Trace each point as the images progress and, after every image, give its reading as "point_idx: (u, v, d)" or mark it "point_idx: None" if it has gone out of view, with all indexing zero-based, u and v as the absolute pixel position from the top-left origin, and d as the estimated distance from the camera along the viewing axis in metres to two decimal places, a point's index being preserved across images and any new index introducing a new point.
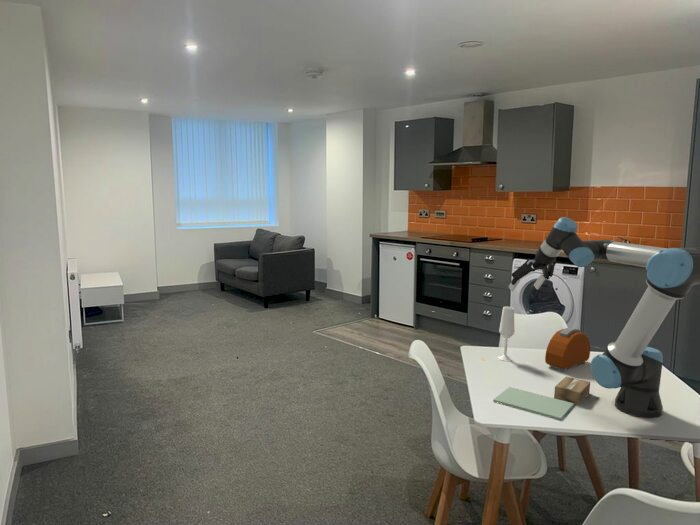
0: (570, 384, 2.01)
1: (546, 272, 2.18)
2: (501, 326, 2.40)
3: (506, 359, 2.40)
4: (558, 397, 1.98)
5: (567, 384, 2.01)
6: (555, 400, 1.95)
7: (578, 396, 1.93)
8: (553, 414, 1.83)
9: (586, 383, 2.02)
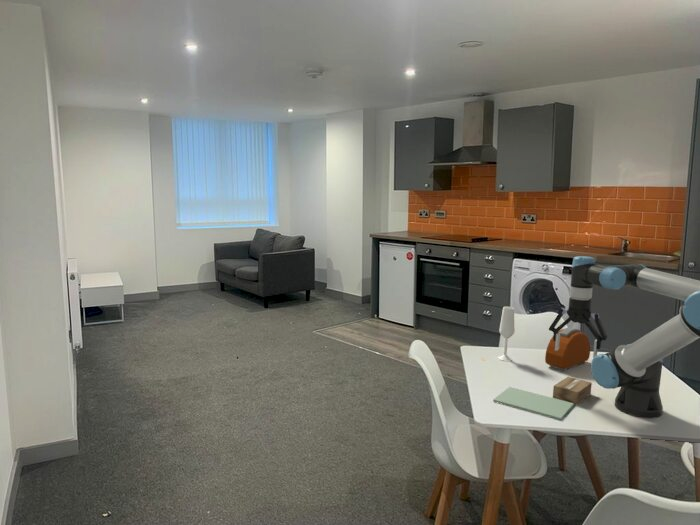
0: (570, 383, 2.01)
1: (592, 330, 1.94)
2: (501, 326, 2.40)
3: (506, 359, 2.40)
4: (557, 396, 1.99)
5: (567, 384, 2.01)
6: (555, 400, 1.95)
7: (576, 396, 1.94)
8: (553, 414, 1.83)
9: (587, 383, 2.02)
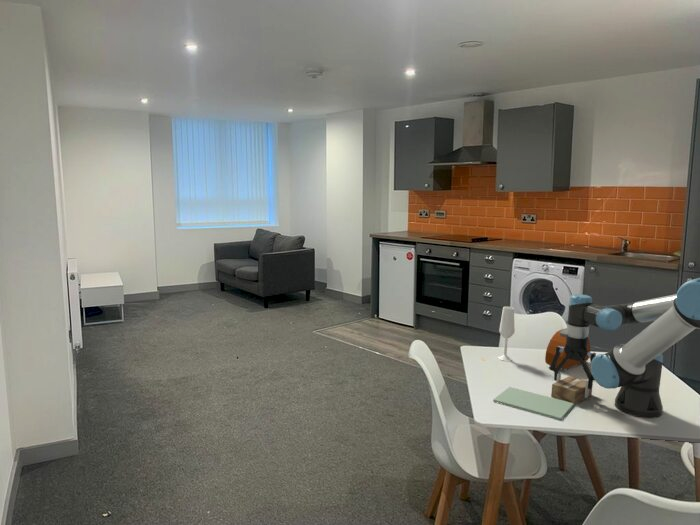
0: (570, 383, 2.01)
1: (585, 369, 1.97)
2: (501, 326, 2.40)
3: (506, 359, 2.40)
4: (555, 395, 1.99)
5: (566, 383, 2.01)
6: (555, 400, 1.95)
7: (573, 395, 1.94)
8: (553, 414, 1.83)
9: None
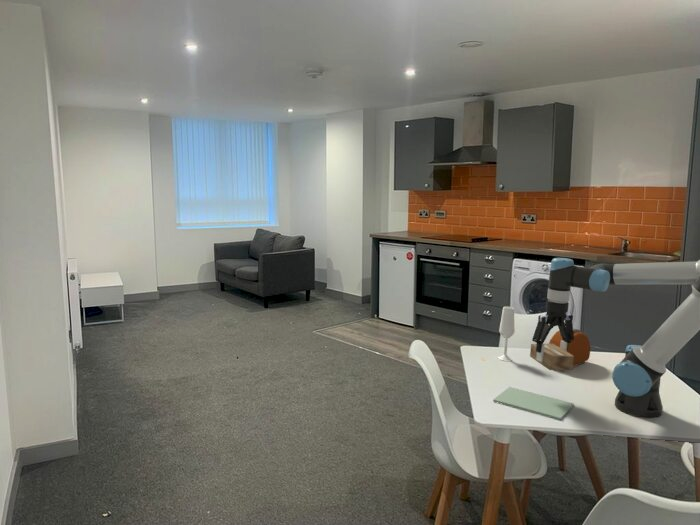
0: (551, 350, 1.94)
1: (565, 331, 1.94)
2: (501, 326, 2.40)
3: (506, 359, 2.40)
4: (553, 367, 1.88)
5: (550, 351, 1.93)
6: (555, 400, 1.95)
7: (572, 360, 1.89)
8: (553, 414, 1.83)
9: (555, 345, 2.00)
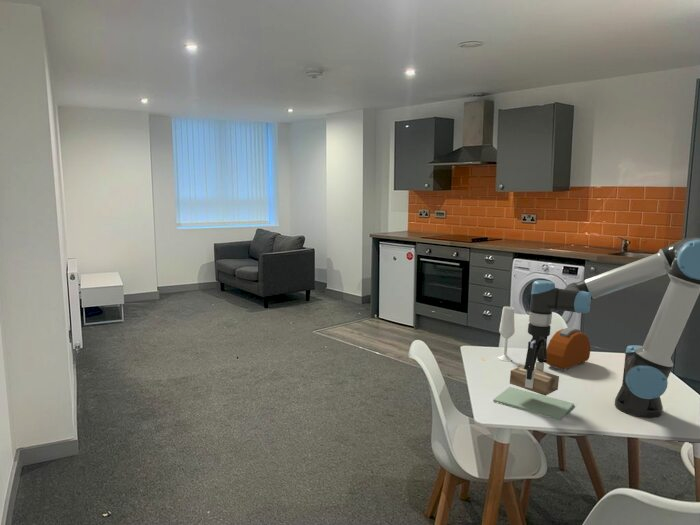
0: (535, 374, 1.91)
1: (543, 353, 1.94)
2: (501, 326, 2.40)
3: (506, 359, 2.40)
4: (547, 391, 1.86)
5: (537, 375, 1.90)
6: (555, 400, 1.95)
7: (557, 380, 1.90)
8: (553, 414, 1.83)
9: None
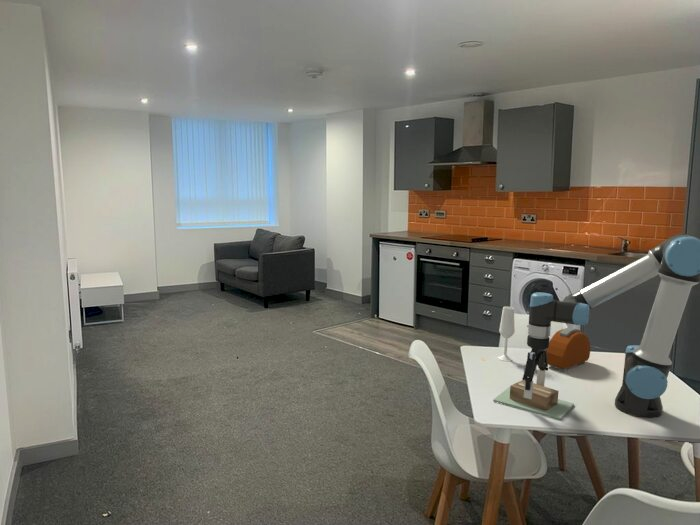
0: (535, 389, 1.92)
1: (544, 362, 1.95)
2: (501, 326, 2.40)
3: (506, 359, 2.40)
4: (548, 406, 1.86)
5: (536, 390, 1.91)
6: None
7: (557, 395, 1.91)
8: (553, 414, 1.83)
9: None
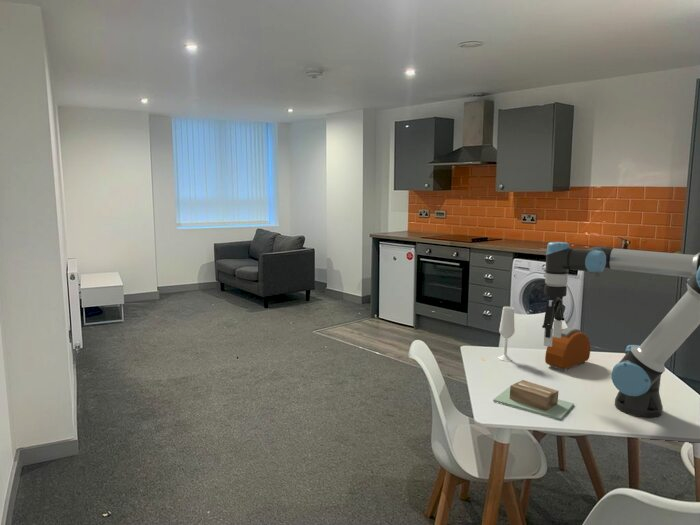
0: (535, 389, 1.92)
1: (560, 312, 1.97)
2: (501, 326, 2.40)
3: (506, 359, 2.40)
4: (548, 406, 1.86)
5: (536, 390, 1.91)
6: None
7: (557, 395, 1.91)
8: (553, 414, 1.83)
9: (528, 382, 1.99)
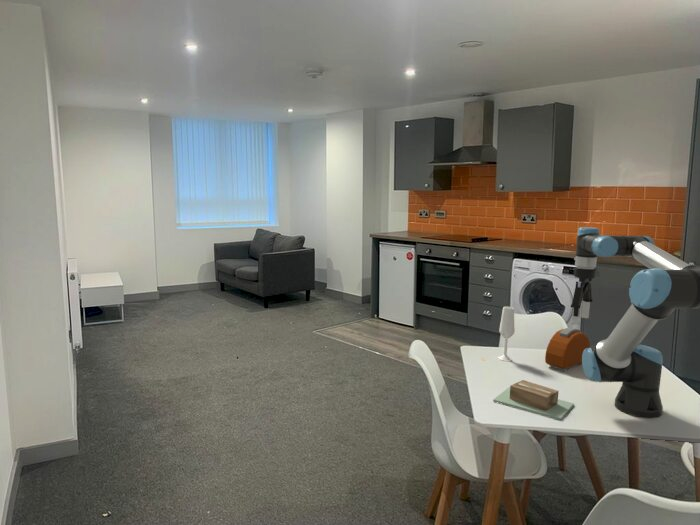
0: (535, 389, 1.92)
1: (589, 293, 2.09)
2: (501, 326, 2.40)
3: (506, 359, 2.40)
4: (548, 406, 1.86)
5: (536, 390, 1.91)
6: None
7: (557, 395, 1.91)
8: (553, 414, 1.83)
9: (528, 382, 1.99)
